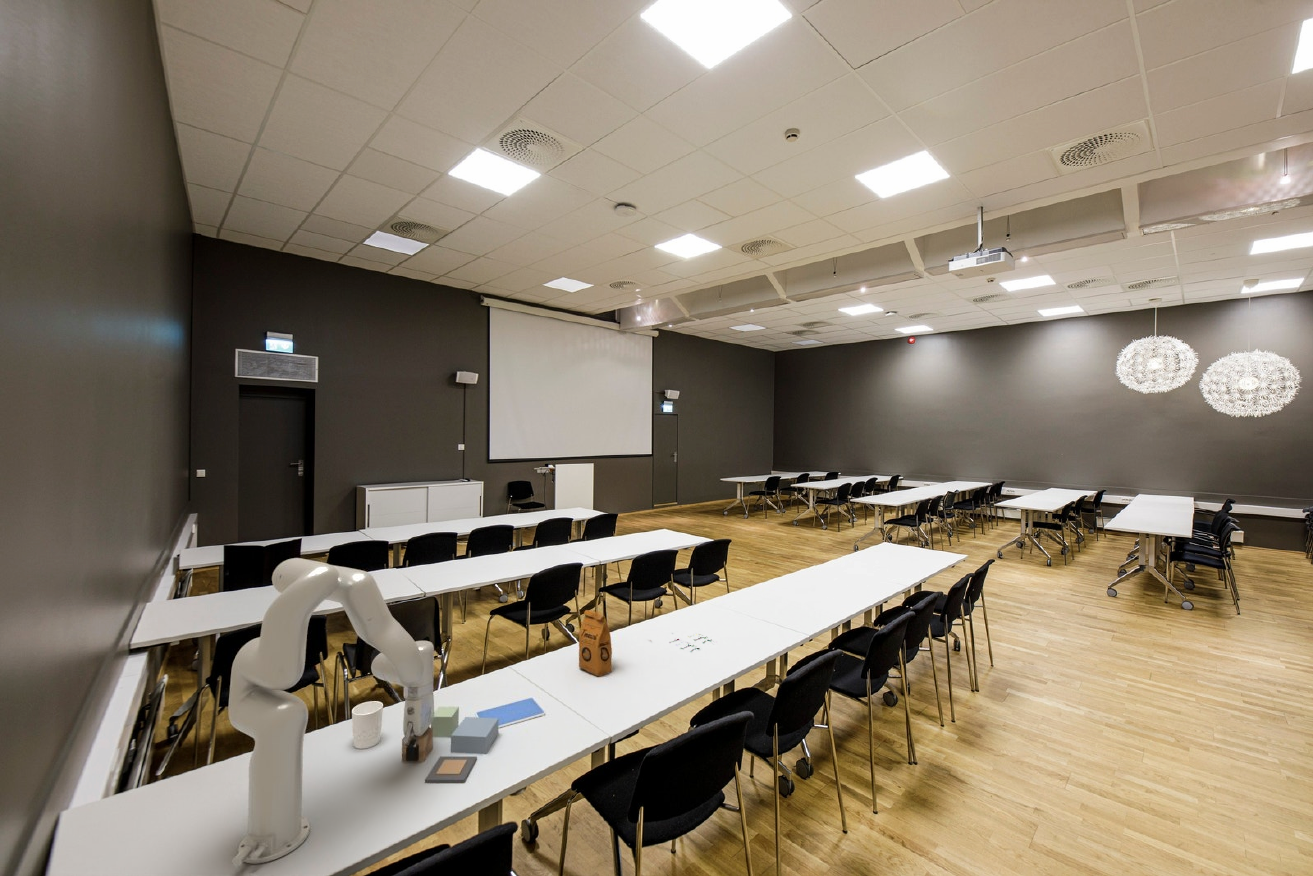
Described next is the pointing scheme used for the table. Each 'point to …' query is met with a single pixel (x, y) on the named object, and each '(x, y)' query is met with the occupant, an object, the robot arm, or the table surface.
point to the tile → (451, 769)
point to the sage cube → (445, 721)
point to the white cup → (367, 724)
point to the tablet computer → (513, 712)
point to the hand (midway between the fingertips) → (417, 752)
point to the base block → (474, 735)
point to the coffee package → (595, 644)
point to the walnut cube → (421, 745)
